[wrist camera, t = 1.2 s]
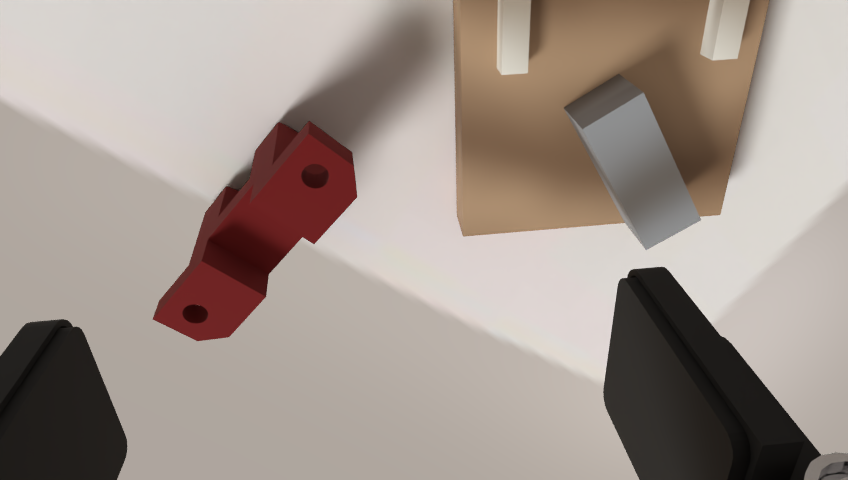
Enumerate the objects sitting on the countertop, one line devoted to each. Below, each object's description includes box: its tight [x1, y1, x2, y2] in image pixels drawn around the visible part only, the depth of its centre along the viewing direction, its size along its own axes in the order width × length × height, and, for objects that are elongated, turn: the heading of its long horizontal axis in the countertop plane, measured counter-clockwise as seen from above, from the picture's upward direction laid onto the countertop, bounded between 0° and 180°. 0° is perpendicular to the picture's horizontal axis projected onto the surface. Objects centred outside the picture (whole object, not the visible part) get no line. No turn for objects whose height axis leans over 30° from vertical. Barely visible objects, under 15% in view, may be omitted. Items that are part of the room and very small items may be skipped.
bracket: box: [153, 121, 357, 341], centre depth 26 cm, size 3×6×10 cm
